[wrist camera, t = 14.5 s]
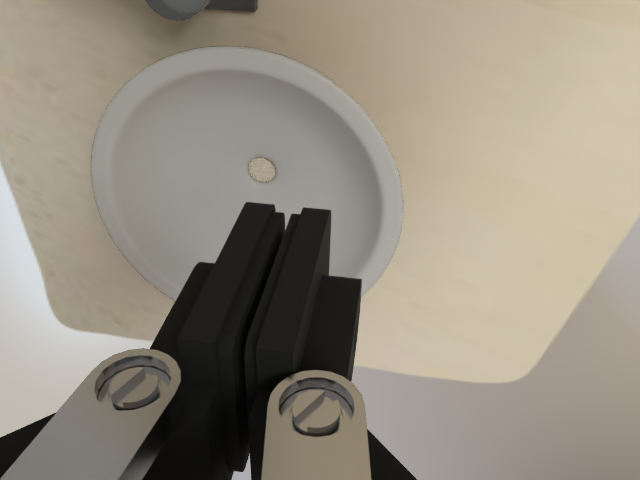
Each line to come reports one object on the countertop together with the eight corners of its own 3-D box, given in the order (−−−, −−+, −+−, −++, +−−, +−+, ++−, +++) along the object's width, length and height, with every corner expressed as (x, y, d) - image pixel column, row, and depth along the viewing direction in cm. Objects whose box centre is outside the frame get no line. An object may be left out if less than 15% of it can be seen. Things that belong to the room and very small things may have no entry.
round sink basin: (225, 312, 60) (206, 358, 55) (69, 106, 50) (25, 138, 45) (451, 230, 51) (455, 275, 46) (316, -40, 41) (299, -23, 36)
